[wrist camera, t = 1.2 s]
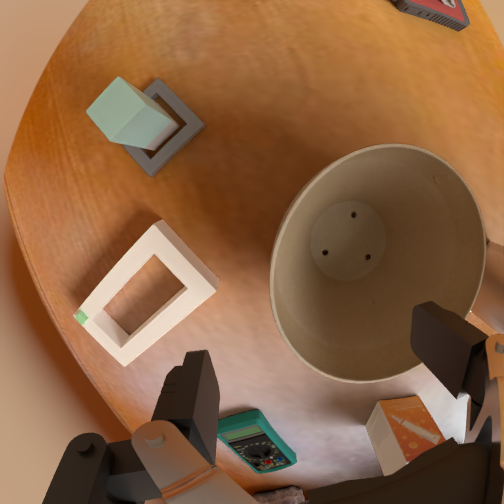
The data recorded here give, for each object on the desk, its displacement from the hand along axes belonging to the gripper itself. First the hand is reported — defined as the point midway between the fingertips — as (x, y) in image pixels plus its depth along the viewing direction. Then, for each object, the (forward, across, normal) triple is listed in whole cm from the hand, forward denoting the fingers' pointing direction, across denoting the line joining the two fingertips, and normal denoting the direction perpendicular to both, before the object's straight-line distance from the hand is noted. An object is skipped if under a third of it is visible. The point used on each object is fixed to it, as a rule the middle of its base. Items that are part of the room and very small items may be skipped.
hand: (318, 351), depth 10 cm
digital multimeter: (+22, +6, +31) cm, 38 cm away
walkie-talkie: (+18, -24, -31) cm, 43 cm away
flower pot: (+20, -8, +1) cm, 22 cm away
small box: (+21, -16, +30) cm, 40 cm away
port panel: (+21, +15, +3) cm, 26 cm away
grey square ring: (+20, +9, -14) cm, 26 cm away
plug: (+20, +9, -14) cm, 26 cm away
